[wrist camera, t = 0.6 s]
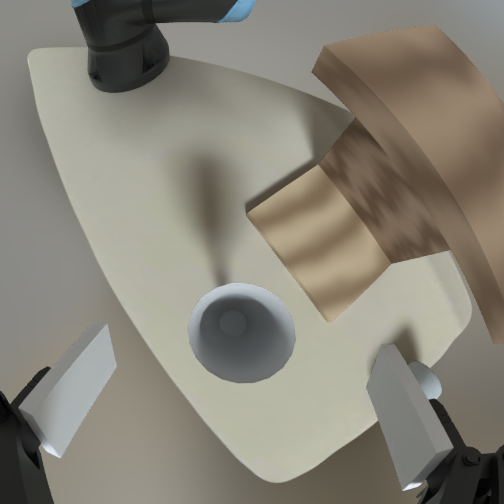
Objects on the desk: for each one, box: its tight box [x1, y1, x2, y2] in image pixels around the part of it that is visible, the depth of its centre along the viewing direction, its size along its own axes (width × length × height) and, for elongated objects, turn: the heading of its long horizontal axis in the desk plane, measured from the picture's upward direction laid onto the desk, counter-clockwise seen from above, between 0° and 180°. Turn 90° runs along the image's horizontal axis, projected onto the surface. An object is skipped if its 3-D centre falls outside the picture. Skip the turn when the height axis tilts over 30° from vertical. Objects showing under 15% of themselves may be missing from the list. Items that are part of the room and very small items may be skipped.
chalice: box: [188, 283, 296, 383], centre depth 27 cm, size 7×7×18 cm
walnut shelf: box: [247, 25, 504, 344], centre depth 26 cm, size 18×14×29 cm
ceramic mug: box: [408, 361, 442, 399], centre depth 34 cm, size 11×8×8 cm
